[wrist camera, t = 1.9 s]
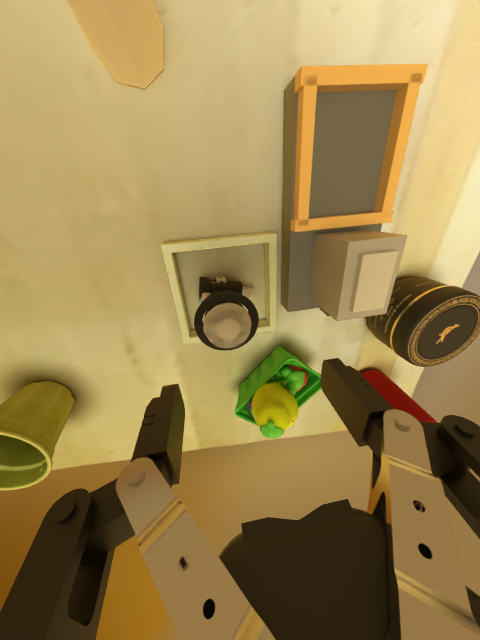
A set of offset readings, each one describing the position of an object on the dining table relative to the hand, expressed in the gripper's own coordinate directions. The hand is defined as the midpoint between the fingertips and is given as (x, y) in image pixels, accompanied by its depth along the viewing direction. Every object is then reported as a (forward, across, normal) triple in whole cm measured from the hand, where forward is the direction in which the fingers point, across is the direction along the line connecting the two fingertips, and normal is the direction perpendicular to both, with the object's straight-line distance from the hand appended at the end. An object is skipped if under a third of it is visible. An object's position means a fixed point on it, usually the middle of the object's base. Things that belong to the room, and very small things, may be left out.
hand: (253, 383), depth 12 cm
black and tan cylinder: (+16, 0, 0) cm, 16 cm away
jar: (+16, -24, +6) cm, 30 cm away
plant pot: (+16, +25, +12) cm, 32 cm away
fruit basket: (+16, -5, +14) cm, 22 cm away
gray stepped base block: (+16, -12, -7) cm, 21 cm away
